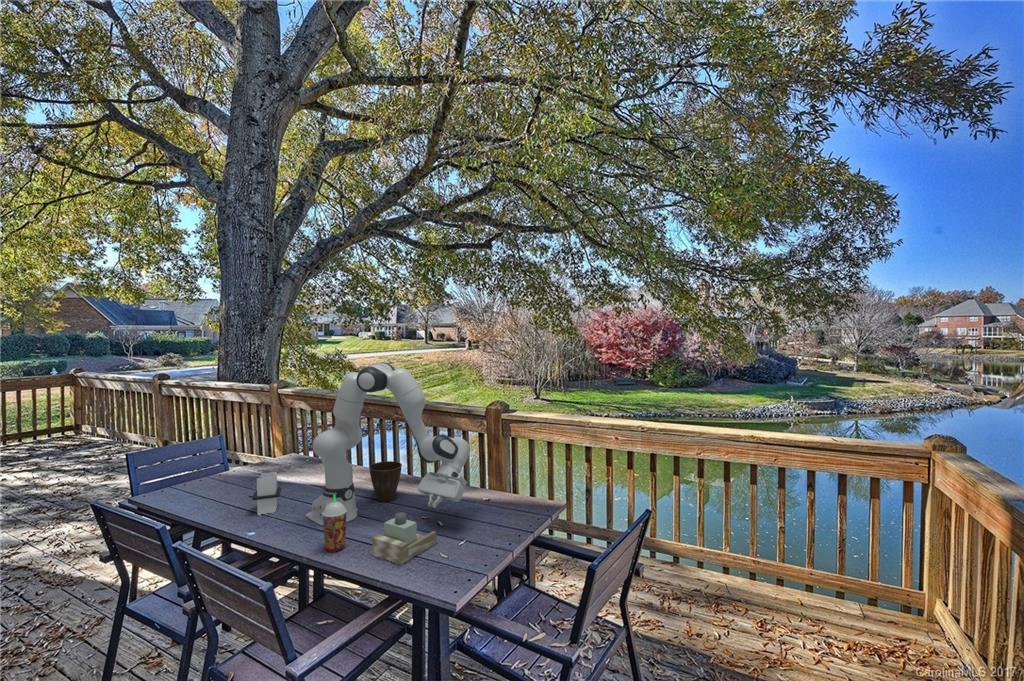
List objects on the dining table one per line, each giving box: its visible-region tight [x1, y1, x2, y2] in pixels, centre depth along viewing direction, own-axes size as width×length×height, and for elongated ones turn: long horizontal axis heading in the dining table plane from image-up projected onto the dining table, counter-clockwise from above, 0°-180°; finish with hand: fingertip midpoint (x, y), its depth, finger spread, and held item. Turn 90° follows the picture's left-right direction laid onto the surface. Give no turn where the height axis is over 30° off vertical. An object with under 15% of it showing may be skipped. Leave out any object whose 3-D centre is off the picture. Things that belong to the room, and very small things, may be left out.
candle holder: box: [251, 471, 282, 516], centre depth 208 cm, size 25×24×16 cm
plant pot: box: [368, 460, 403, 503], centre depth 223 cm, size 15×15×16 cm
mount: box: [371, 530, 438, 566], centre depth 171 cm, size 14×19×6 cm
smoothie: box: [323, 495, 347, 553], centre depth 172 cm, size 8×8×20 cm
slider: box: [383, 511, 418, 545], centre depth 169 cm, size 10×6×12 cm, turn 60°
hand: (431, 506), depth 184 cm, fingers closed
